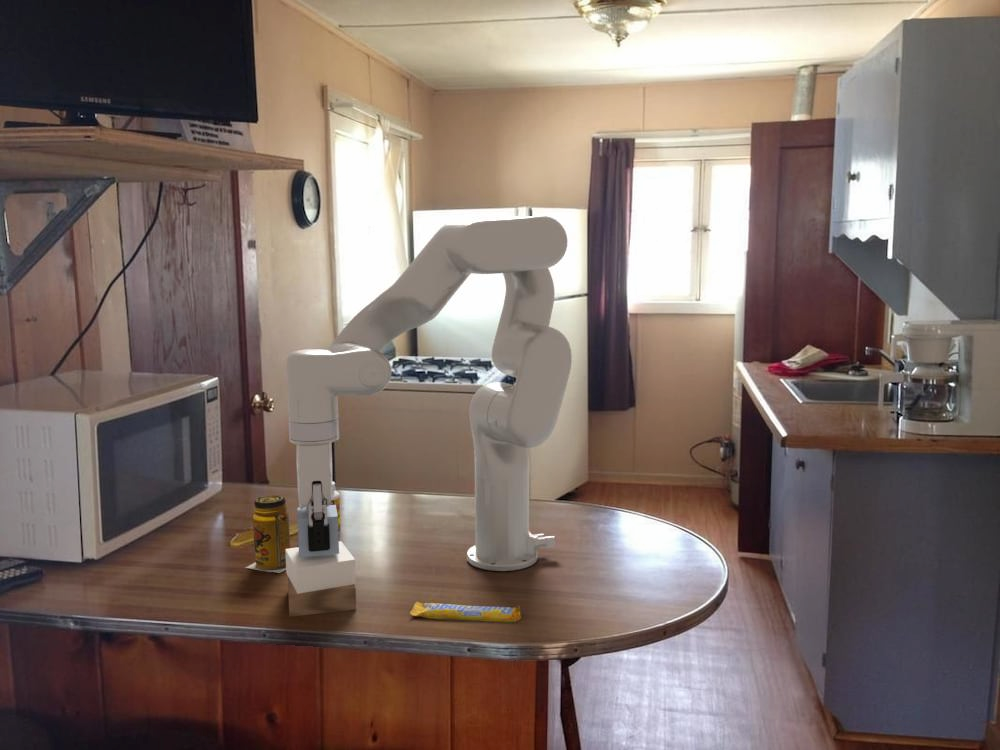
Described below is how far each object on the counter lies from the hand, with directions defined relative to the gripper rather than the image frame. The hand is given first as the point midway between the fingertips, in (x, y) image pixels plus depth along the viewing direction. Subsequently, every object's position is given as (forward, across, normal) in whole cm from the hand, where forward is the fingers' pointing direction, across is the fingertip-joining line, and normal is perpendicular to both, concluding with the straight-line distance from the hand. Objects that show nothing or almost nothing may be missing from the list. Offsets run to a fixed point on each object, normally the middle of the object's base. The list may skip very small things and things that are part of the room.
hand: (318, 541), depth 134 cm
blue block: (+1, 0, 0) cm, 1 cm away
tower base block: (+10, 0, 0) cm, 10 cm away
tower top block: (+6, 0, 0) cm, 6 cm away
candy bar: (+10, +11, +21) cm, 26 cm away
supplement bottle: (+10, -31, +2) cm, 33 cm away
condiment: (+10, -18, -7) cm, 22 cm away
